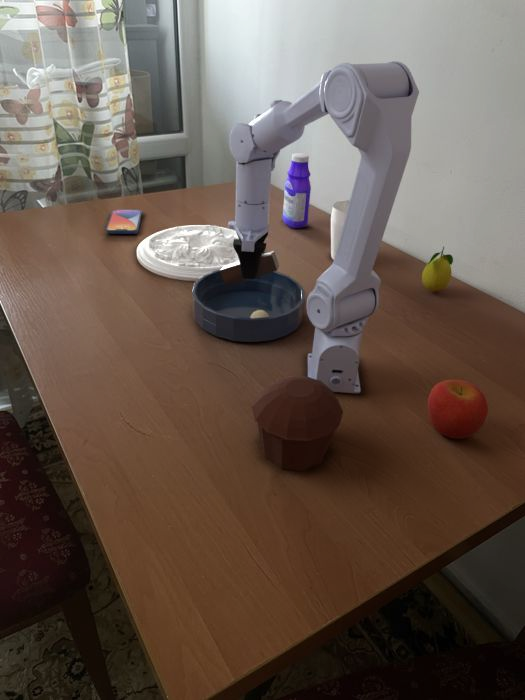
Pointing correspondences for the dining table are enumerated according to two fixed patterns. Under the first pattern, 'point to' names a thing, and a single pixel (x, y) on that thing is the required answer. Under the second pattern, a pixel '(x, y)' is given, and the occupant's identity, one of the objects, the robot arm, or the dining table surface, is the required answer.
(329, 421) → the muffin
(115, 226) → the smartphone
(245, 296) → the bowl
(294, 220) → the bottle
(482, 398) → the apple
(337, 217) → the cup
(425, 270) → the pear
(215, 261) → the ceiling medallion
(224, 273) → the block
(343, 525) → the dining table surface
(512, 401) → the dining table surface
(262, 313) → the dough ball
